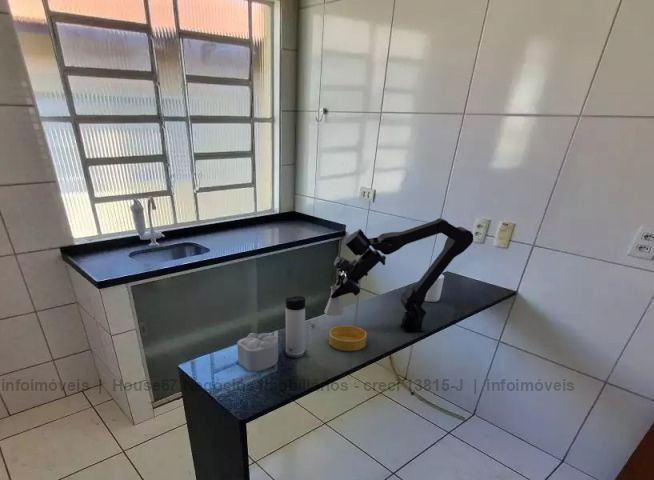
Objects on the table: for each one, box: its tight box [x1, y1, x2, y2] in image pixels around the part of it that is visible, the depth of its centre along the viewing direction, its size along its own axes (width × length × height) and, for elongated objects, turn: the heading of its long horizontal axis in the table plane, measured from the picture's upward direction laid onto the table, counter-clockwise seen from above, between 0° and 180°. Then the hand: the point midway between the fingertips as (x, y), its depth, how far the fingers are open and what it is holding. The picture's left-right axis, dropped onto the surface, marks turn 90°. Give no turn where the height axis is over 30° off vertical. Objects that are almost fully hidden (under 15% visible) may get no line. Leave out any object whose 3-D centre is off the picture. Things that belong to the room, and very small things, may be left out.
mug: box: [422, 272, 445, 303], centre depth 179 cm, size 9×12×11 cm
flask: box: [323, 284, 345, 317], centre depth 147 cm, size 7×7×10 cm
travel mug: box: [285, 295, 306, 359], centre depth 132 cm, size 6×7×20 cm
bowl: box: [328, 325, 368, 352], centre depth 142 cm, size 13×13×4 cm
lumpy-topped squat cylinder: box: [236, 332, 279, 372], centre depth 131 cm, size 10×13×9 cm
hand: (330, 295), depth 146 cm, fingers closed on flask, 3 cm apart
